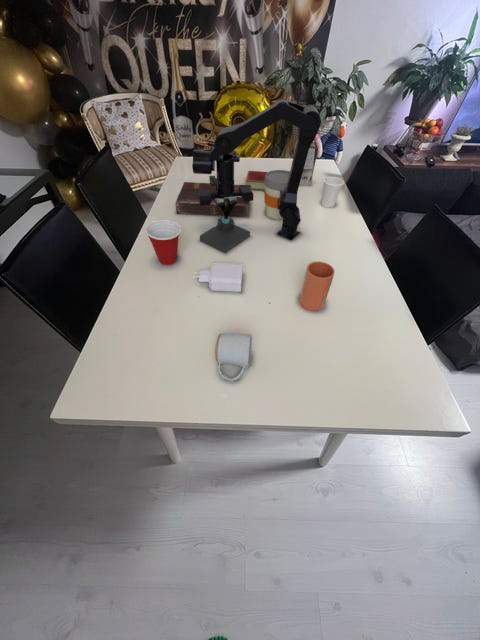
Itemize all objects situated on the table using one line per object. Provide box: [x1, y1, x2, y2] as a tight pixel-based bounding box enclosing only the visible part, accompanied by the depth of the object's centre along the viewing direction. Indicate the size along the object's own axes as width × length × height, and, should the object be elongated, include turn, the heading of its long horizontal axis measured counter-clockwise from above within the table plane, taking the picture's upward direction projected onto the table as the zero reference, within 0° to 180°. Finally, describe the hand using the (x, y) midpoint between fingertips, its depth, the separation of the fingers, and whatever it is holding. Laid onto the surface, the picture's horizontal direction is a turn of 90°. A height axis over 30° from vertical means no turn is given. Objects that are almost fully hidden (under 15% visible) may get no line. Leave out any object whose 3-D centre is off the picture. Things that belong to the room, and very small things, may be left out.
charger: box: [192, 261, 244, 293], centre depth 91 cm, size 5×9×15 cm
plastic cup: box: [144, 219, 182, 266], centre depth 95 cm, size 11×11×12 cm
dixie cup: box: [321, 176, 345, 208], centre depth 126 cm, size 8×8×10 cm
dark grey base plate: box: [199, 216, 251, 254], centre depth 108 cm, size 14×12×4 cm
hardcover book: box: [245, 170, 269, 192], centre depth 139 cm, size 12×21×4 cm, turn 83°
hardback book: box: [175, 181, 251, 218], centre depth 124 cm, size 29×19×5 cm, turn 86°
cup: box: [298, 261, 335, 312], centre depth 83 cm, size 7×7×12 cm
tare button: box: [221, 216, 231, 223], centre depth 110 cm, size 3×3×2 cm
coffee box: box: [299, 141, 319, 187], centre depth 139 cm, size 9×6×16 cm
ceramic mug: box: [214, 332, 253, 382], centre depth 69 cm, size 11×8×8 cm
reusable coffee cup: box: [263, 169, 290, 220], centre depth 117 cm, size 13×13×15 cm
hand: (225, 218), depth 109 cm, fingers closed, pressing on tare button
